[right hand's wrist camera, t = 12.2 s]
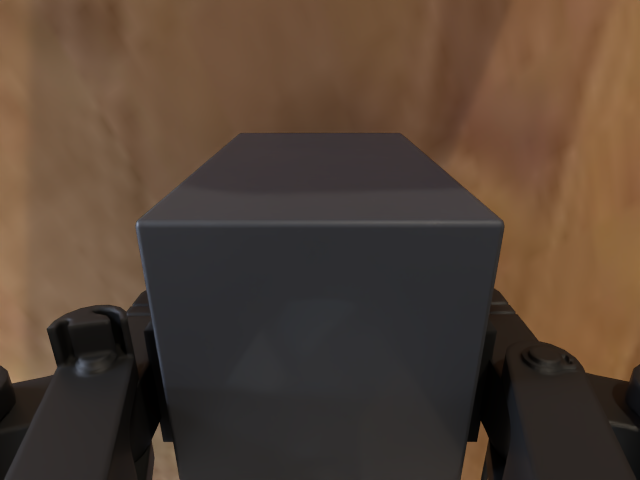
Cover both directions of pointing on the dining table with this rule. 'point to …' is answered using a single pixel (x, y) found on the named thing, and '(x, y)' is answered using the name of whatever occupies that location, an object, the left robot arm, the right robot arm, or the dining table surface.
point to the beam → (320, 309)
